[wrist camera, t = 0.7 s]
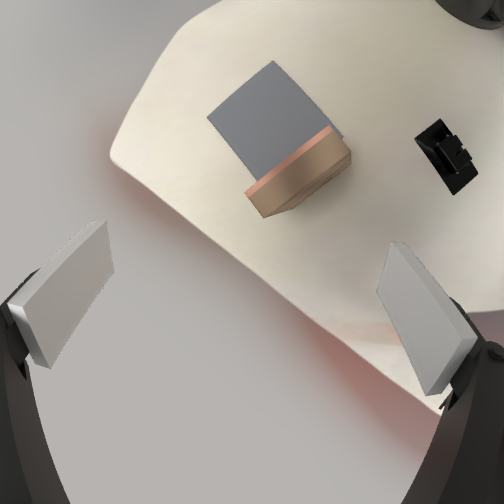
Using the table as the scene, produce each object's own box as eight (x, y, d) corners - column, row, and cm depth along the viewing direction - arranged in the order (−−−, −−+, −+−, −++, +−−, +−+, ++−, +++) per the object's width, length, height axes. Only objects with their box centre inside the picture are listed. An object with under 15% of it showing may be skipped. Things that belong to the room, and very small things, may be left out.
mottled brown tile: (336, 146, 37) (329, 124, 24) (350, 164, 37) (350, 151, 24) (279, 191, 41) (244, 192, 28) (292, 208, 41) (263, 218, 28)
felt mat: (273, 61, 37) (273, 60, 37) (343, 136, 37) (343, 136, 37) (207, 117, 42) (206, 117, 42) (268, 194, 42) (268, 195, 41)
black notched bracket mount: (486, 180, 32) (500, 179, 27) (452, 209, 34) (463, 212, 30) (435, 106, 32) (444, 97, 28) (399, 134, 35) (405, 127, 31)
